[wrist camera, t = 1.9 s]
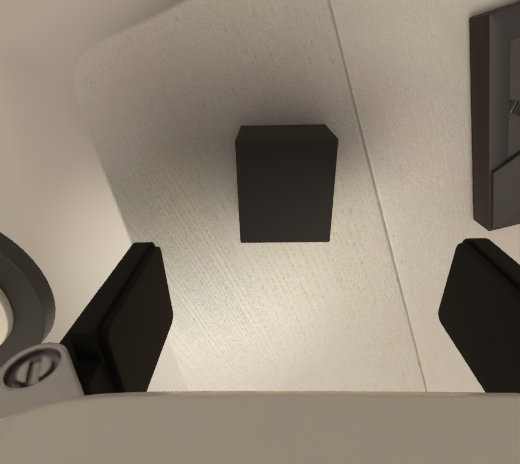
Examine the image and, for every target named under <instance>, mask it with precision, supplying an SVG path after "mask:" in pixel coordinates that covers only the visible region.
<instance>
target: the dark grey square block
mask: <svg viewBox="0 0 520 464" xmlns="http://www.w3.org/2000/svg"><path fill="white" fill-rule="evenodd" d="M235 146H236V165H237V184H238V202H239V221H240V240H241V243H263V242H329V241H330V230H331V218H332V207H333V195H334V184H335V172H336V160H337V149H338V138H337V137H336V136H335V135H334V134H333V133H332V132H331V131H330V130H329V128H328V127H327V126H326V125H269V126H241V128H240V130H239V133H238V136H237V138H236V141H235Z"/></svg>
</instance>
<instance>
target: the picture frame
mask: <svg viewBox="0 0 520 464" xmlns="http://www.w3.org/2000/svg"><path fill="white" fill-rule="evenodd" d="M470 51H471V96H472V141H473V186H474V220H475V221H476V222H478V223H479V224H480V225H482V226H483V227H484V228H486V229H487V230H488V231H492V230H496V229H500V228H504V227H508V226H512V225H516V224H520V2H517V3H514V4H511V5H508V6H505V7H502V8H499V9H496V10H493V11H490V12H487V13H484V14H481V15H478V16H475V17H472V18H470Z"/></svg>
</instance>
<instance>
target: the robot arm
mask: <svg viewBox="0 0 520 464" xmlns="http://www.w3.org/2000/svg"><path fill="white" fill-rule="evenodd" d="M438 315H439V320H440V322H441V324H442V325H443V327H444V329H445V330H446V332H447V333H448V335H449V336H450V338H451V339H452V341H453V343H454V344H455V346H456V347H457V349H458V350H459V352H460V353H461V355H462V357H463V358H464V360H465V361H466V363H467V364H468V366H469V367H470V369H471V371H472V372H473V374H474V375H475V377H476V378H477V380H478V381H479V383H480V385H481V386H482V388H483V389H484V391H485V392H486V393H473V392H354V391H185V392H184V391H181V392H178V391H176V392H147V389H148V386H149V383H150V380H151V378H152V375H153V373H154V370H155V367H156V365H157V362H158V359H159V356H160V354H161V351H162V348H163V345H164V343H165V340H166V338H167V335H168V332H169V330H170V327H171V324H172V320H173V310H172V305H171V300H170V294H169V289H168V284H167V279H166V274H165V268H164V263H163V258H162V253H161V249H160V247H155V245H154V243H153V242H136V243H133V244H132V246H131V247H130V249H129V250H128V251H127V253H126V254H125V255H124V257H123V258H122V260H121V261H120V262H119V263H118V265H117V266H116V267H115V269H114V270H113V272H112V273H111V274H110V276H109V277H108V278H107V280H106V281H105V282H104V284H103V285H102V286H101V288H100V289H99V290H98V292H97V293H96V294H95V296H94V297H93V298H92V300H91V301H90V302H89V304H88V305H87V306H86V308H85V309H84V311H83V312H82V313H81V315H80V316H79V317H78V319H77V320H76V321H75V323H74V324H73V325H72V327H71V328H70V330H69V331H68V332H67V334H66V335H65V336H64V338H63V339H62V340H61V342H60V343H50V342H49V343H43V344H38V345H35V346H32V347H29V348H27V349H25V350H23V351H21V352H19V353H18V354H16V355H15V356H13V357H12V358H11V359H9V360H8V361H7V362H6V363H5V364H4V365H3V366H2V367H1V368H0V464H520V265H519V264H518V263H517V262H516V261H514V260H513V259H512V258H511V257H510V256H508V255H507V254H506V253H505V252H504V251H502V250H501V249H500V248H499V247H498V246H496V245H495V244H494V243H493V242H492V241H490V240H489V239H487V238H469V239H465V240H464V241H463V242H462V243H460V244H458V245H457V247H456V250H455V254H454V257H453V261H452V264H451V268H450V272H449V275H448V279H447V282H446V286H445V289H444V293H443V297H442V300H441V304H440V307H439V312H438ZM13 322H14V317H13V311H12V308H11V305H10V303H9V300H8V298H7V297H6V295H5V294H4V292H3V291H2V289H1V288H0V345H1V344H2V343H3V342H4V341H5V340H6V339H7V338H8V336H9V335H10V333H11V331H12V329H13Z"/></svg>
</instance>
